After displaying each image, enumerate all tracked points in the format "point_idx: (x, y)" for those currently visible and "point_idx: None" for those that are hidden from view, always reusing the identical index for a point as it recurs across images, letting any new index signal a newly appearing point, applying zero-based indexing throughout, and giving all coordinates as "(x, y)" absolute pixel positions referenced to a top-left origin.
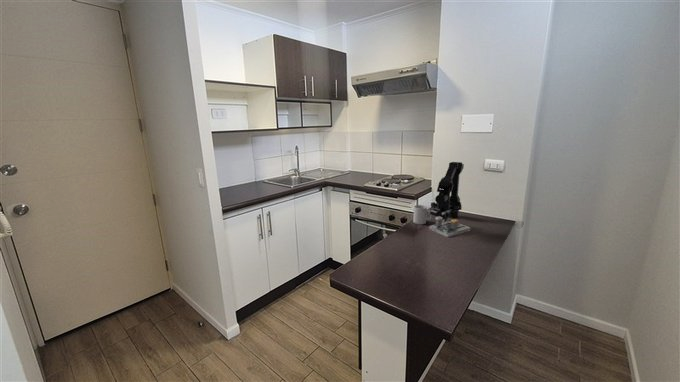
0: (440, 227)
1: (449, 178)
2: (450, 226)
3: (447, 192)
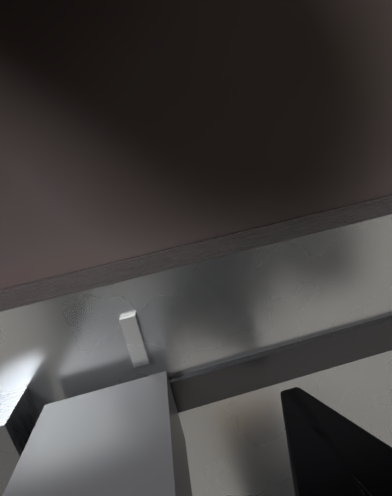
0: None
1: None
2: None
3: None
